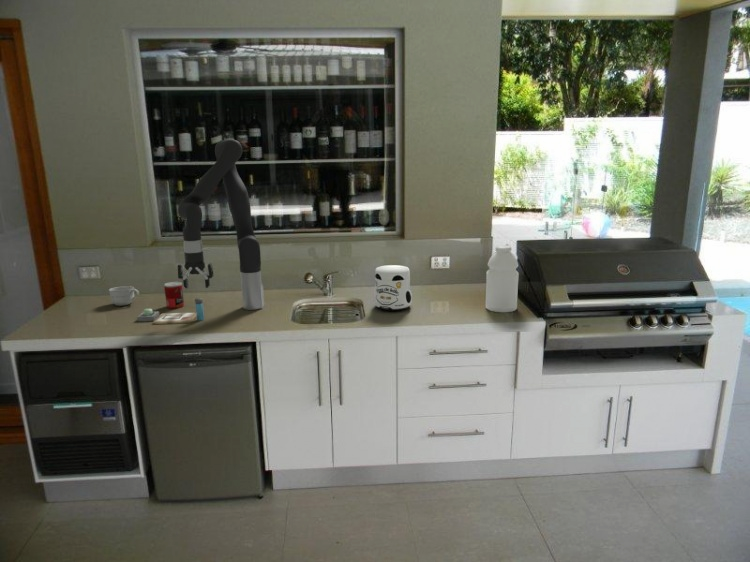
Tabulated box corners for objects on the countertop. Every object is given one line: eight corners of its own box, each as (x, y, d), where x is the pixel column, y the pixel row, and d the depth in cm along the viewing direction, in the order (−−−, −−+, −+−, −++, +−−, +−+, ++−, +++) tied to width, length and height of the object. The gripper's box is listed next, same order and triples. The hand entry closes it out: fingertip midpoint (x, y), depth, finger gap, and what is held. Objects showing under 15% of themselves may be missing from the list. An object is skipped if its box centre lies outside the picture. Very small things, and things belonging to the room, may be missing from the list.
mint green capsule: (154, 314, 246) (153, 308, 245) (151, 317, 242) (150, 310, 242) (145, 315, 246) (144, 308, 245) (142, 317, 242) (142, 311, 241)
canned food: (178, 309, 257) (176, 286, 254) (163, 308, 258) (160, 285, 255) (187, 304, 264) (185, 281, 261) (172, 303, 265) (169, 281, 263)
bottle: (479, 308, 249) (480, 247, 242) (495, 301, 259) (497, 242, 251) (507, 315, 240) (509, 251, 232) (523, 307, 249) (526, 246, 242)
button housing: (159, 315, 248) (159, 311, 247) (154, 320, 241) (153, 316, 241) (143, 316, 248) (143, 311, 247) (137, 321, 241) (137, 316, 240)
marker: (205, 318, 243) (203, 297, 240) (203, 320, 240) (201, 299, 237) (198, 318, 243) (195, 298, 240) (196, 321, 240) (193, 300, 237)
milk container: (378, 314, 243) (377, 274, 239) (370, 303, 260) (369, 265, 255) (416, 311, 247) (416, 272, 242) (406, 300, 263) (406, 263, 258)
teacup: (106, 306, 264) (103, 289, 261) (124, 299, 273) (121, 284, 271) (128, 309, 258) (126, 292, 256) (146, 302, 268) (143, 286, 266)
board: (198, 314, 249) (198, 311, 249) (191, 322, 237) (190, 320, 237) (162, 315, 248) (161, 312, 248) (153, 324, 237) (152, 321, 236)
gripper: (212, 248, 237) (215, 285, 242) (179, 248, 237) (182, 285, 241) (208, 251, 230) (211, 289, 234) (173, 252, 230) (177, 290, 234)
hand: (197, 287), depth 238 cm, fingers open, 8 cm apart
